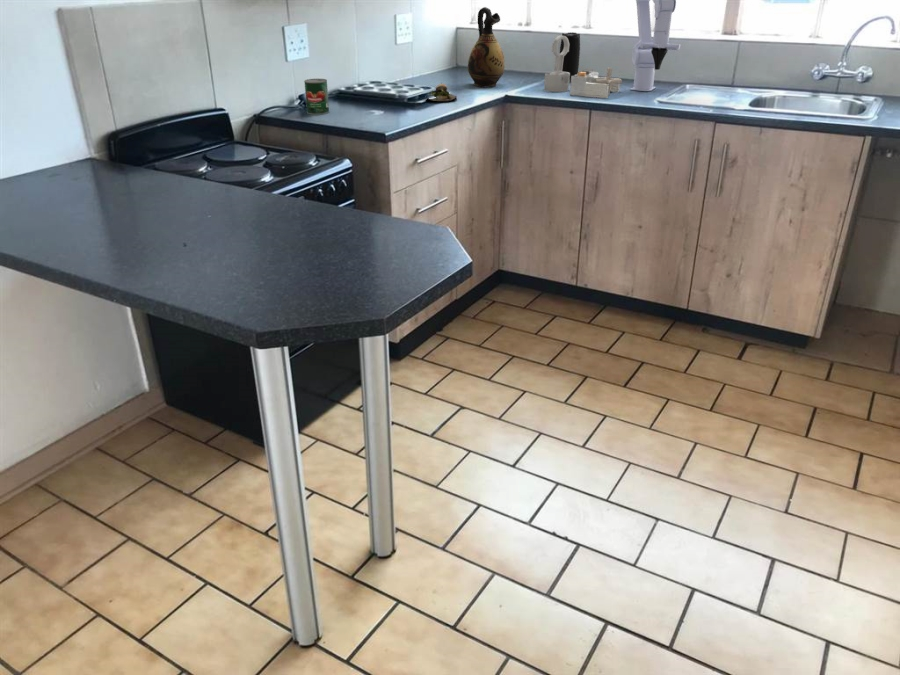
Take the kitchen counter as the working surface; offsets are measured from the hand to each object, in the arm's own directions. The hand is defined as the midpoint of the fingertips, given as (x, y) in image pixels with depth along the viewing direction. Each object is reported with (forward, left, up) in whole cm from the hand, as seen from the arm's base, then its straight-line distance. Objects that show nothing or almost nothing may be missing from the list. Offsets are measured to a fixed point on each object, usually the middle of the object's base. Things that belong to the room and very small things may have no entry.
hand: (657, 69), depth 285 cm
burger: (+45, -70, -10) cm, 84 cm away
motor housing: (+5, -23, -10) cm, 25 cm away
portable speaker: (-20, -43, -10) cm, 48 cm away
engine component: (+3, -39, -10) cm, 40 cm away
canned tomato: (+85, -98, -10) cm, 130 cm away
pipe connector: (+6, -17, -10) cm, 21 cm away
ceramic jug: (+7, -70, -10) cm, 71 cm away
